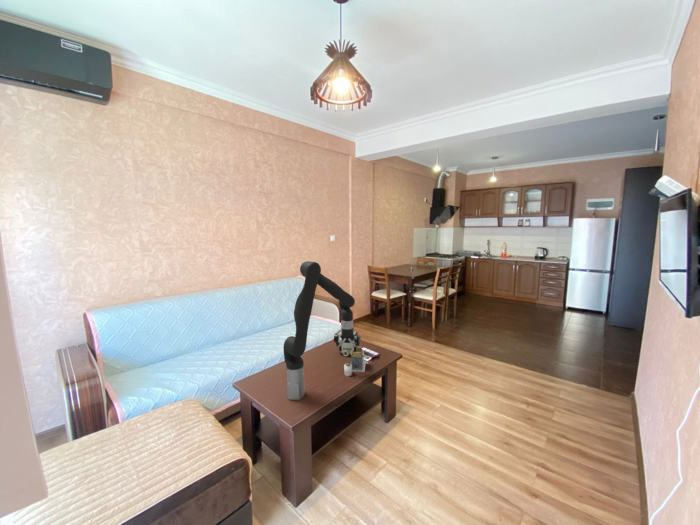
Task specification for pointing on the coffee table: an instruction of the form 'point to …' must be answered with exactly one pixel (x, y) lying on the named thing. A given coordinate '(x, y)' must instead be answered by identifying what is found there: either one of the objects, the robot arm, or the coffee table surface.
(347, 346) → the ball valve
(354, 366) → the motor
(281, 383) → the coffee table surface
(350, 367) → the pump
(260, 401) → the coffee table surface
